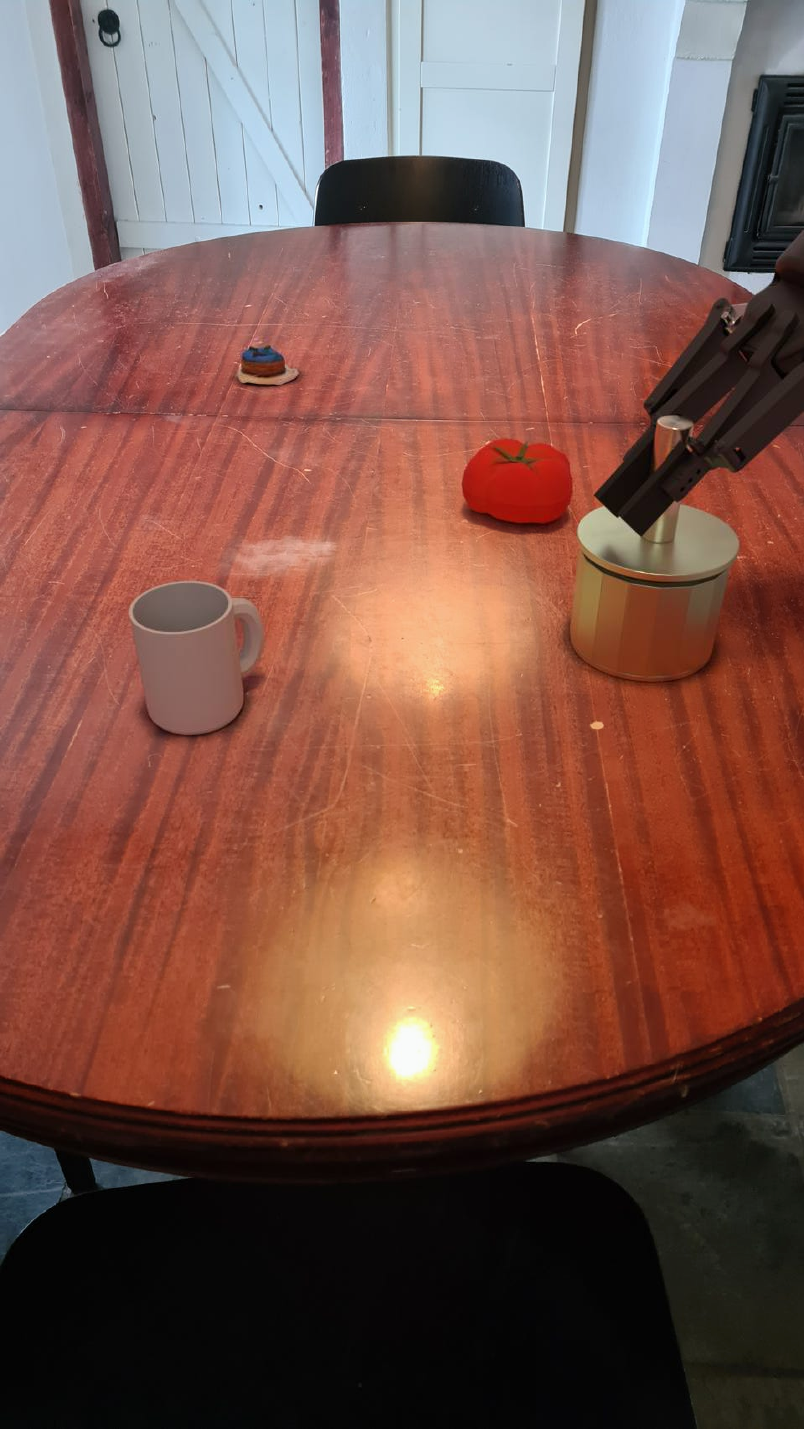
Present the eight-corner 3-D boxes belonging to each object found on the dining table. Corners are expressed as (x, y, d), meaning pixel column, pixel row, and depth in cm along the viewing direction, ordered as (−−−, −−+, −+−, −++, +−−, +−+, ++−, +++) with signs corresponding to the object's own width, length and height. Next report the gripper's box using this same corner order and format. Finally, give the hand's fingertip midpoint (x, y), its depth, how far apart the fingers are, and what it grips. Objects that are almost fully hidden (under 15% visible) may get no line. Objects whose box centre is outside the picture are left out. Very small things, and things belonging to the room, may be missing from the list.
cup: (130, 704, 78) (110, 603, 73) (242, 656, 84) (230, 559, 78) (178, 750, 74) (160, 646, 69) (293, 697, 79) (285, 596, 74)
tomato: (477, 485, 109) (480, 425, 105) (580, 500, 106) (586, 439, 102) (449, 525, 102) (450, 462, 98) (558, 543, 99) (564, 479, 95)
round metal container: (705, 693, 79) (725, 597, 74) (558, 667, 82) (568, 573, 77) (716, 617, 88) (735, 527, 83) (583, 597, 91) (593, 508, 86)
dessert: (224, 377, 133) (235, 332, 133) (244, 392, 139) (255, 349, 139) (280, 389, 131) (292, 343, 131) (298, 404, 138) (309, 360, 137)
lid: (731, 600, 74) (760, 466, 68) (562, 575, 77) (575, 444, 71) (741, 525, 83) (767, 401, 77) (589, 505, 86) (603, 384, 80)
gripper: (959, 321, 68) (703, 590, 73) (801, 264, 79) (590, 499, 85) (920, 242, 63) (649, 536, 68) (758, 194, 75) (537, 448, 80)
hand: (617, 515), depth 76 cm, fingers closed on lid, 3 cm apart
